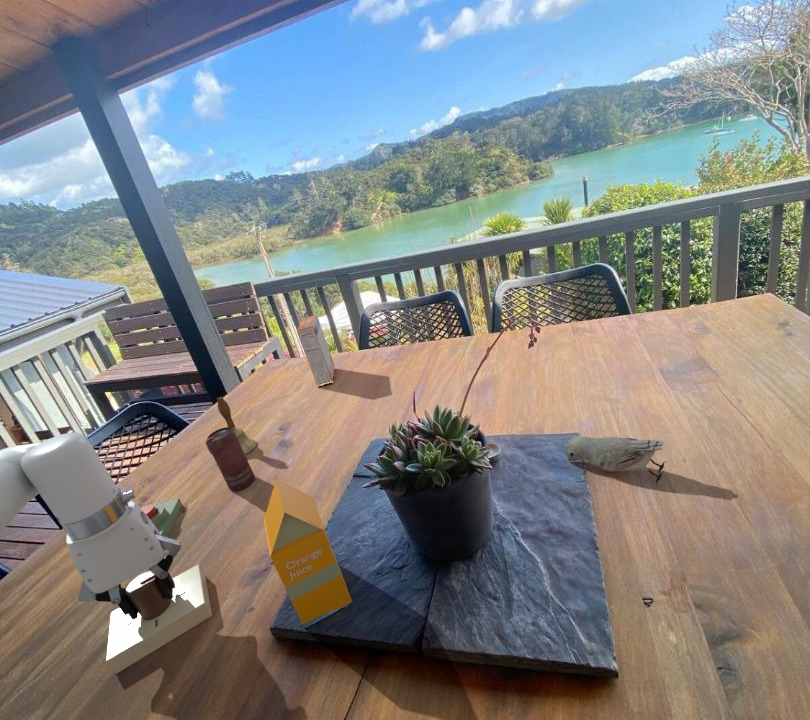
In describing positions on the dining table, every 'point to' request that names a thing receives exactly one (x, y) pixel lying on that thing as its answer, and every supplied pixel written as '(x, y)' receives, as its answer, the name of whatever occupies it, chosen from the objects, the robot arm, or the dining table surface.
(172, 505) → the button block
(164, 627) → the panel
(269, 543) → the orange juice
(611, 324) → the dining table surface
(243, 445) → the hand bell
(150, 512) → the button
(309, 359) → the cracker box
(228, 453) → the can
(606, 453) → the decorative bird
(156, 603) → the knob
